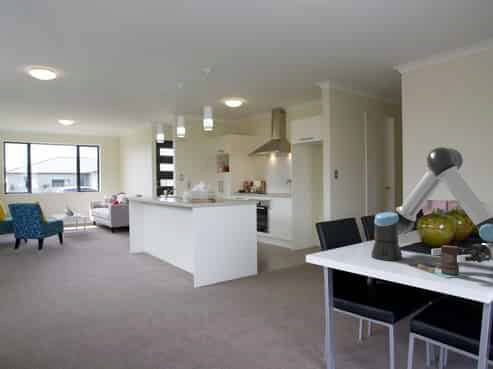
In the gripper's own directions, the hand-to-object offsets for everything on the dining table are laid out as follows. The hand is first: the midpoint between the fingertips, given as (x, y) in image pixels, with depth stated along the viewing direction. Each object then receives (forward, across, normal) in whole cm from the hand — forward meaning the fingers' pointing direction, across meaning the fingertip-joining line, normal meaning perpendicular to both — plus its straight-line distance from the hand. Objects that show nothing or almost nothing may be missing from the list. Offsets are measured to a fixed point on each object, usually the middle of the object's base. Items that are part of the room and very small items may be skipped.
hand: (444, 255), depth 147 cm
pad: (-3, 0, -9) cm, 9 cm away
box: (-3, 0, -8) cm, 9 cm away
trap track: (-3, +11, -9) cm, 15 cm away
